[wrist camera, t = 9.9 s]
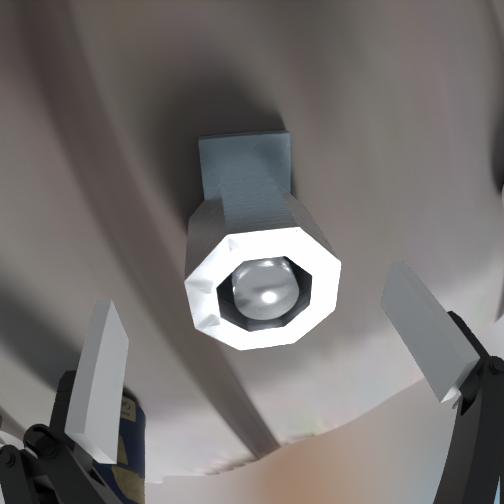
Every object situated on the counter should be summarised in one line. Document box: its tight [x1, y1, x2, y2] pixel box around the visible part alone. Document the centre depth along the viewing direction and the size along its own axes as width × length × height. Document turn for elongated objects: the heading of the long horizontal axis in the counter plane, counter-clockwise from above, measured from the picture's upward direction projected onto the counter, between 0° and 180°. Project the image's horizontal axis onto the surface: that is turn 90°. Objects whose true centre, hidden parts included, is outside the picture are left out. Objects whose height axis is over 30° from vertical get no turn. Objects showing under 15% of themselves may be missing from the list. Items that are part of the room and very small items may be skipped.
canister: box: [92, 395, 146, 504], centre depth 22 cm, size 10×10×18 cm
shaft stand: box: [198, 130, 299, 320], centre depth 18 cm, size 5×12×7 cm, turn 2°
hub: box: [184, 178, 341, 350], centre depth 17 cm, size 7×7×6 cm
